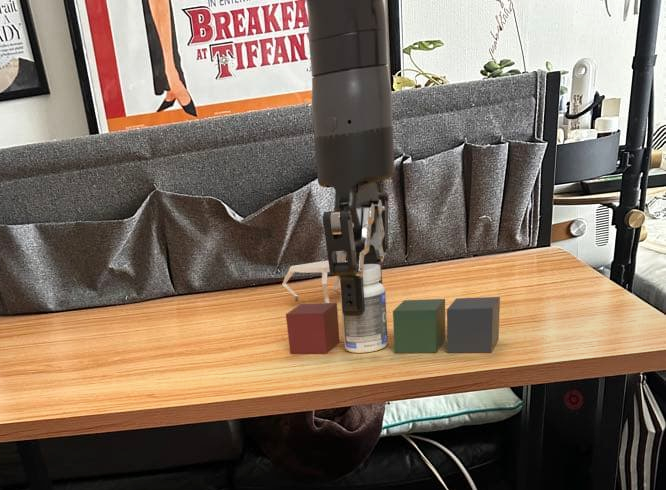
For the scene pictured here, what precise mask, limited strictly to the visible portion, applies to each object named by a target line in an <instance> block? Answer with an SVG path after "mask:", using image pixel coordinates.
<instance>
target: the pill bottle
mask: <svg viewBox="0 0 666 490" xmlns="http://www.w3.org/2000/svg"><path fill="white" fill-rule="evenodd" d="M381 269H382V267H381V268H380V265H379V264H364V265H363V275H362V277H363V285H364V303H365V311H364V313H362V314H361V315H359V316H345V315H344V314H343V311H342V310H341V317H342V318H341V319H342V329H343V330H342V333H343V344H344V349H345V350H346V351H347V352H350V353H353V354H365V353H371V352H372V353H373V352H376V351H381V350H382V349H384V348H386V347H387V345H388V343H389V341H388V339H389V338H388V322H387V320H388V318H387V299H386V288H385V285H384V284H383V283H382V284H381V283H379V281H380V280H381ZM339 296H340V304H341V308H342V298H341V294H339Z"/></svg>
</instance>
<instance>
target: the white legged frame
mask: <svg viewBox="0 0 666 490" xmlns="http://www.w3.org/2000/svg"><path fill="white" fill-rule="evenodd" d="M345 262H348V260H345ZM294 273H302V274H304V273H305V274H306V273H309V274H311V273H312V274H313V273H321V283H320V284H321V288H322V294H323V297H324V298H323V299H324V303H330V296H329V289H328V273H330V270H329V262H328V259H327V260H322V261H316V262H315V261H314V262H309V263H303V264H302V263H301V264H297V265H290V267H289V270H288V272H287V273H286V275H285V276H284V279H283V281H282V283H281V285H282V286H283V287H284V288H285V289H286V290H287V291H288V292H289V293H291V294H292V296H293V297H294V301H299V295H298V294H297V293H296V292H295V291H294V290H293V289H292V288H291V287H290V286H289V285H288V284H287V283H288V281H289V280H290V279H291V277H292V276H293V274H294ZM340 279H341V278H337V279H336V281H335V283H334V285H333V286H332V289H331V292H333V293H336V294H338V295H341V290H339V289H338V288H339V287H340V286H341V284H340Z"/></svg>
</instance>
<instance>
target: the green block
mask: <svg viewBox="0 0 666 490" xmlns="http://www.w3.org/2000/svg"><path fill="white" fill-rule="evenodd" d="M392 319H393V321H392V322H393V323H392V324H393V345H394V346H393V347H394V354H436V353H438V351H439V350H440V348H442V346H443V344H444V343H445V341H446V298H437V299H436V298H433V299H430V298H429V299H405V300H403V301H402V302H401V303H399V305H397V307H395V308H394V309H393V310H392Z"/></svg>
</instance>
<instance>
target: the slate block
mask: <svg viewBox="0 0 666 490" xmlns="http://www.w3.org/2000/svg"><path fill="white" fill-rule="evenodd" d="M500 306H501V297H500V296H488V297H460V298H459V297H458V298H455V299H454V300H453V302H451V304H450V305H449V306H448V308H446V353H447V354H454V353H455V354H465V353H466V354H467V353H468V354H470V353H471V354H480V353H481V354H483V353H484V354H485V353H486V354H487V353H488V354H489V353H492V352H493V350H494V349H495V347H496V345H497V344H498V342H499V338H500V309H501V307H500Z"/></svg>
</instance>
